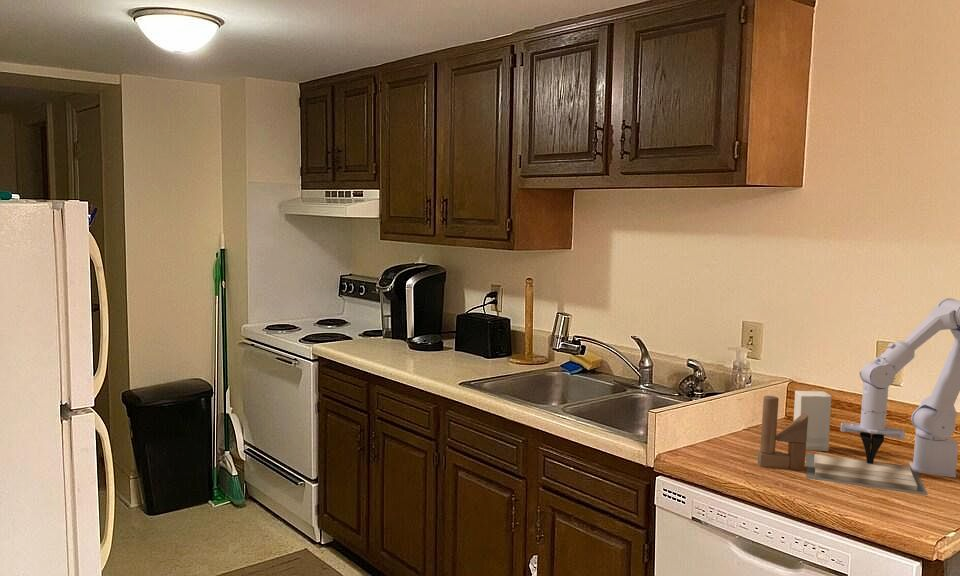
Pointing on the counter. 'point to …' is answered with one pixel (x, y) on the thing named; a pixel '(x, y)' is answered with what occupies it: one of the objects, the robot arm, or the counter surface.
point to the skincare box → (815, 417)
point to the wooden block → (782, 439)
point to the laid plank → (865, 477)
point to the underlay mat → (811, 475)
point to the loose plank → (862, 464)
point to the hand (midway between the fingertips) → (869, 462)
